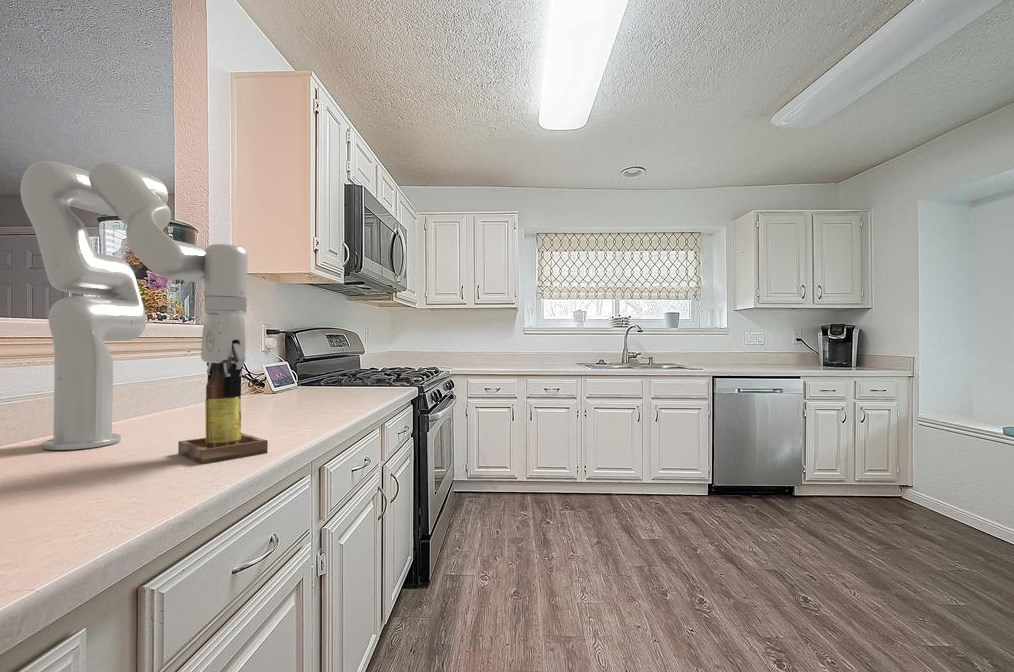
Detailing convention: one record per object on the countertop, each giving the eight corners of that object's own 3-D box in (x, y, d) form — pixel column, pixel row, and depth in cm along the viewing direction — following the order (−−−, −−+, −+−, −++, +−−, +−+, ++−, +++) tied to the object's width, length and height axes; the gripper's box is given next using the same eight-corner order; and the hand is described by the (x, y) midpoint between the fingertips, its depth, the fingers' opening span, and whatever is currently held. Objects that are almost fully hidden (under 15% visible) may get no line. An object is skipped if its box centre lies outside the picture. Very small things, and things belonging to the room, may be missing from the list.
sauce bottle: (247, 448, 100) (248, 351, 101) (215, 454, 95) (217, 351, 95) (229, 444, 104) (231, 350, 104) (198, 450, 99) (200, 350, 99)
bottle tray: (178, 453, 98) (178, 441, 98) (240, 444, 108) (241, 432, 108) (202, 464, 91) (202, 450, 91) (267, 452, 100) (267, 440, 100)
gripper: (188, 306, 102) (186, 393, 102) (224, 304, 91) (222, 401, 91) (226, 308, 108) (225, 390, 108) (264, 306, 97) (263, 397, 97)
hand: (223, 394), depth 100 cm, fingers open, 6 cm apart
